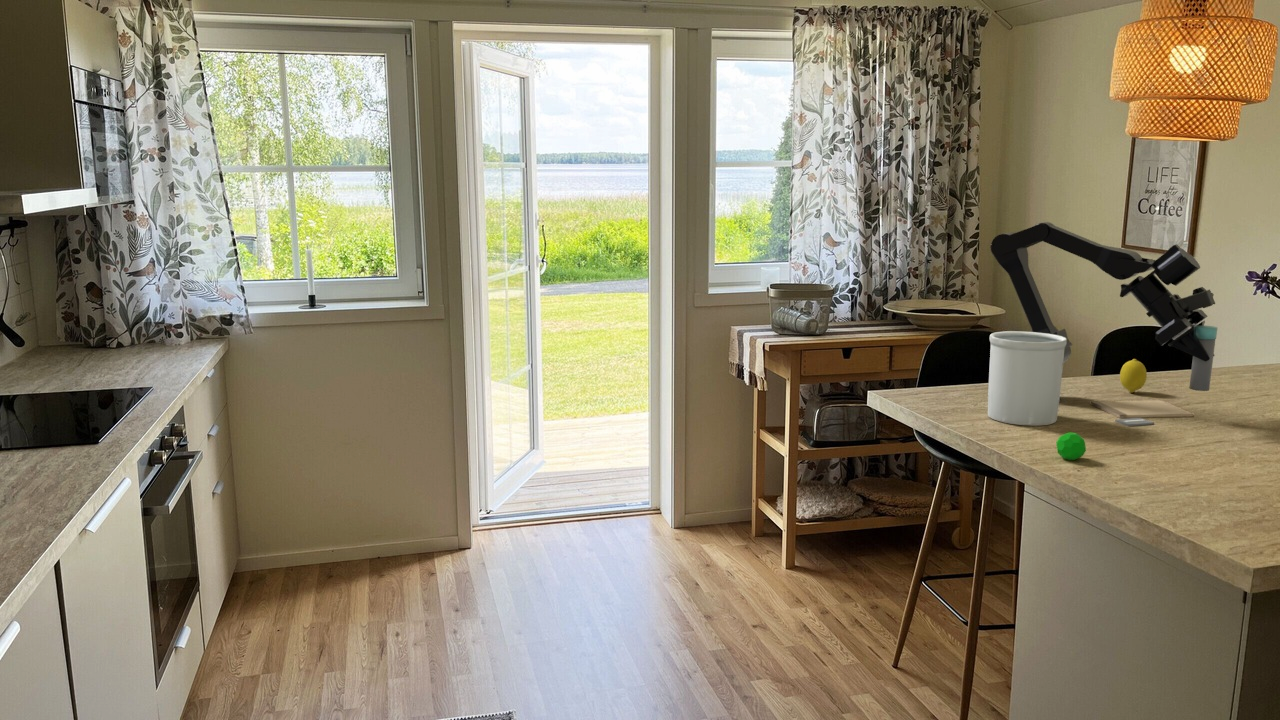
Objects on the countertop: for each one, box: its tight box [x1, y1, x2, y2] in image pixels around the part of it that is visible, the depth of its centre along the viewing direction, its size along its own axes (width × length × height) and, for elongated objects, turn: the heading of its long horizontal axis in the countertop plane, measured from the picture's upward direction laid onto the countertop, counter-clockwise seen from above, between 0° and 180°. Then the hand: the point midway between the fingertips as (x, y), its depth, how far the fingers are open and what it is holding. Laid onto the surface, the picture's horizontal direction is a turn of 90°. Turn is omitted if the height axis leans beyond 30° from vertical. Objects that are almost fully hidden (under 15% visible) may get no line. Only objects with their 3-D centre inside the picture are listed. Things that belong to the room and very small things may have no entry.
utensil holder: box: [987, 330, 1067, 427], centre depth 204 cm, size 15×15×18 cm
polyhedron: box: [1055, 431, 1087, 461], centre depth 176 cm, size 5×5×5 cm
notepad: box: [1090, 399, 1194, 419], centre depth 211 cm, size 16×12×1 cm
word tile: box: [1114, 417, 1155, 427], centre depth 201 cm, size 6×4×1 cm, turn 103°
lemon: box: [1119, 358, 1148, 394], centre depth 226 cm, size 6×6×8 cm
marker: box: [1188, 325, 1218, 392], centre depth 200 cm, size 4×4×13 cm
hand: (1210, 358), depth 199 cm, fingers closed on marker, 4 cm apart
